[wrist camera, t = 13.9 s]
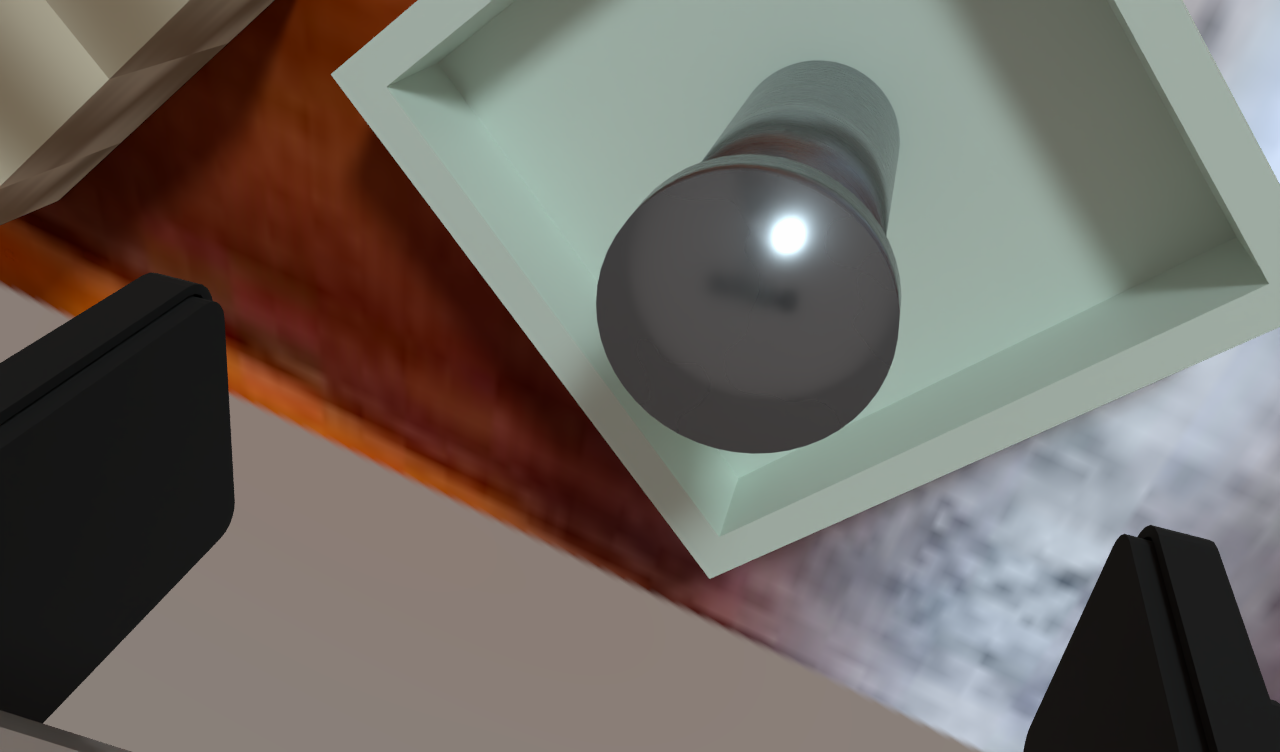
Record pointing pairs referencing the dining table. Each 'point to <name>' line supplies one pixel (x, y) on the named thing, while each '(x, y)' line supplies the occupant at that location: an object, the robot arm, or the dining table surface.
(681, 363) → the steel pin
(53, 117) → the pin block
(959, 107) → the tray
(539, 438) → the dining table surface
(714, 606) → the dining table surface
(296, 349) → the dining table surface
